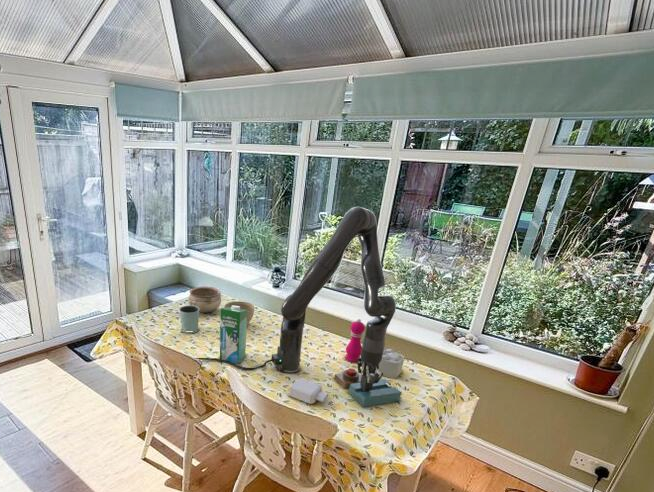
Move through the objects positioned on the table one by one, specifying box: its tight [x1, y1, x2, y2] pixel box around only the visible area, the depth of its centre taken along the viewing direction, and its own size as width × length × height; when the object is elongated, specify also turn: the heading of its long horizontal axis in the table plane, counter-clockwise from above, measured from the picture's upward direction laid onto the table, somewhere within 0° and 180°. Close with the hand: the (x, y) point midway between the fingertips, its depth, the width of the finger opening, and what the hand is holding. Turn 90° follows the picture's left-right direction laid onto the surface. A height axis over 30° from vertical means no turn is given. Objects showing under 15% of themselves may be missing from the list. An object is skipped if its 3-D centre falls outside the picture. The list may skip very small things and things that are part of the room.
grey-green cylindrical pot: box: [178, 305, 200, 334], centre depth 213 cm, size 10×10×12 cm
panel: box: [334, 369, 361, 389], centre depth 169 cm, size 10×8×4 cm
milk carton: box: [219, 305, 248, 365], centre depth 183 cm, size 9×9×25 cm
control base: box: [348, 378, 402, 408], centre depth 159 cm, size 16×10×5 cm, turn 106°
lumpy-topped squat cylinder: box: [378, 348, 405, 379], centre depth 178 cm, size 10×13×9 cm
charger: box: [288, 377, 333, 405], centre depth 157 cm, size 5×9×15 cm
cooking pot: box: [187, 286, 222, 314], centre depth 237 cm, size 25×19×12 cm
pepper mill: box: [345, 318, 366, 363], centre depth 184 cm, size 7×7×20 cm
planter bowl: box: [223, 300, 256, 327], centre depth 220 cm, size 16×16×11 cm
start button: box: [347, 368, 357, 376], centre depth 168 cm, size 3×3×2 cm
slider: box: [360, 375, 372, 392], centre depth 156 cm, size 3×3×6 cm
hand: (365, 387), depth 157 cm, fingers closed on slider, 3 cm apart
